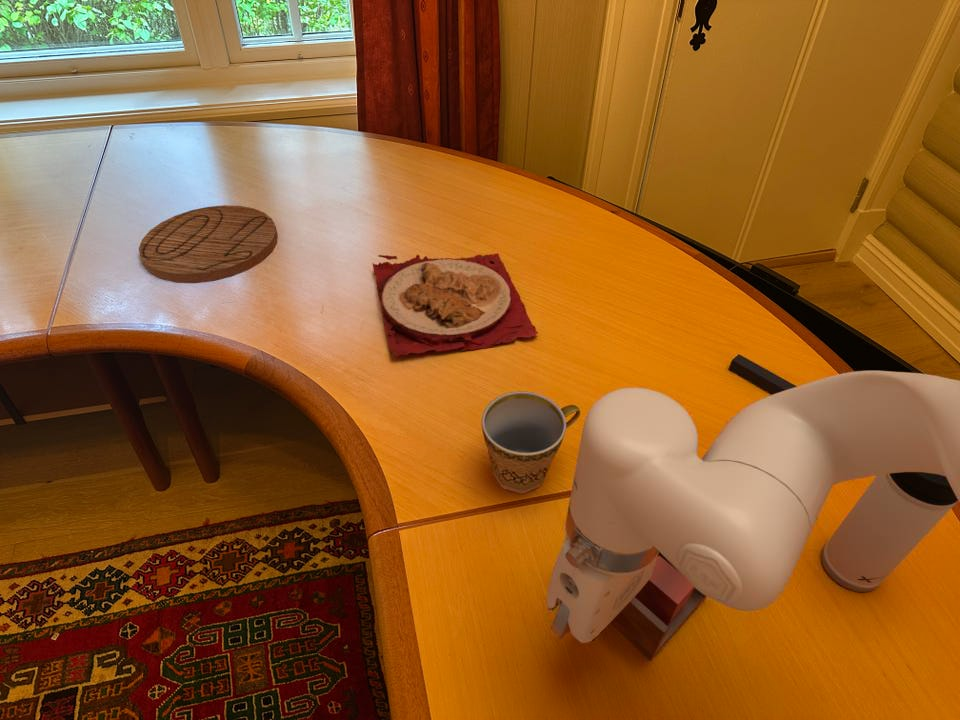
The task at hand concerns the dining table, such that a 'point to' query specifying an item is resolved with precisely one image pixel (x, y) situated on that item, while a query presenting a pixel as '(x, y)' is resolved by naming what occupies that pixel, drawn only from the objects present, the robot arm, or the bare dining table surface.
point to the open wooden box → (658, 609)
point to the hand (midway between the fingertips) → (586, 624)
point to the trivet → (208, 243)
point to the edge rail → (759, 375)
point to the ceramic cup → (524, 437)
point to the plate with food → (449, 304)
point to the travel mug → (885, 527)
